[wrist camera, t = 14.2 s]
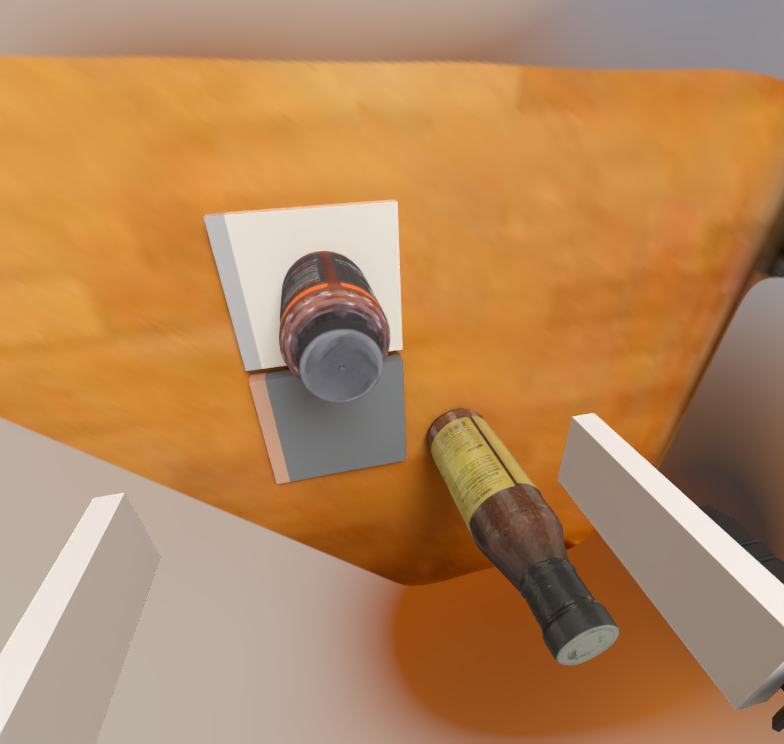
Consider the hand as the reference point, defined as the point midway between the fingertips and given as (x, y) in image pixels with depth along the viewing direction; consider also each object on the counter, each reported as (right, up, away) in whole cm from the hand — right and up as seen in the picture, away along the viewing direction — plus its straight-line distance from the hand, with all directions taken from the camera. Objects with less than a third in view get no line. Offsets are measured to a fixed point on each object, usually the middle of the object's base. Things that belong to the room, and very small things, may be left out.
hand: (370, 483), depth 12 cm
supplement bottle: (-4, +9, +16) cm, 19 cm away
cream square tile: (-4, +10, +17) cm, 20 cm away
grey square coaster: (-4, -1, +23) cm, 23 cm away
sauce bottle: (+7, -2, +27) cm, 28 cm away
